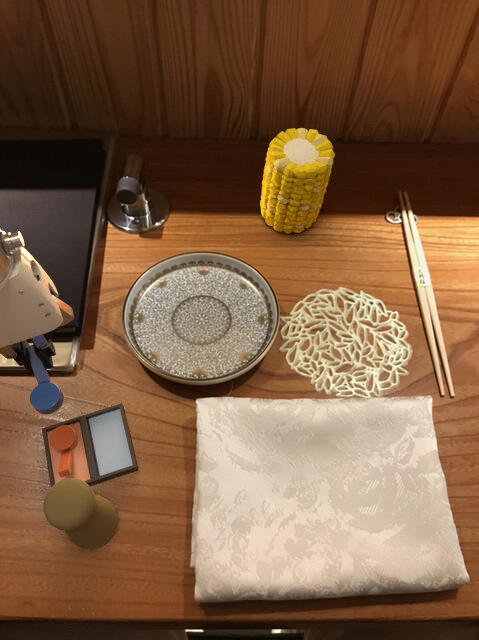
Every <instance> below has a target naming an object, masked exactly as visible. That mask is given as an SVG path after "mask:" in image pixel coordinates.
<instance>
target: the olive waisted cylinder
mask: <svg viewBox="0 0 479 640" xmlns="http://www.w3.org/2000/svg"><path fill="white" fill-rule="evenodd" d="M42 505H43V507H42V509H43V514H44V517H45V519H46V522H48V523H49V524H50V525H51V526H52V527H54V528H55V529H58V530H59V531H64V532H65V533H66V535H67V536H68V537H69V539H70V540H71V542H73V544H75V546H77V547H79V548H81V549H84V550H95V549H100V548H101V547H103V546H105V545H107V544H108V543H109V542H110V541H111V540H112V539H113V538H114V536H115V534H116V532H117V531H118V527H119V521H120V520H119V512H118V509H117V507H116V505H115V503H113V502H112V501H111V500H110V499H109V498H106V497H104V496H102V495H99V494H96V493H95V492H94V491H93V488H92V487H91V486H89V485H88V484H87V483H86V482H84V481H82V480H80V479H75V478H68V479H63V480H61V481H59V482H57V483H55V484H54V485H53V486H52V487H51V486H50V487H49V489H48V491H47V493H46V495H45V496H44V500H43V503H42Z"/></svg>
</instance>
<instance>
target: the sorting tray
mask: <svg viewBox="0 0 479 640" xmlns="http://www.w3.org/2000/svg"><path fill="white" fill-rule="evenodd" d="M63 425H66V426H70V427H71V428H72V429H73V430H74V431H75V432H76V433H77V435H78V443H77V445H76V447H75V448H74V449H73V450H72V451H71V452H72V455H73V456H72V464H71V472H70V475H67V476H64V477H60V475H59V473H58V471H59V465H60V459H61V453H59V452H57V451H56V450H55V449H54V448H53V447H52V446H51V445H50V435H51V433H52V432H53V430H54V429H56V428H57V427H59V426H63ZM41 434H42V440H43V445H44V447H43V448H44V453H45V459H46V465H47V471H48V472H47V473H48V479H49V485H50V488H51V487H52V486H53V485H54V484H55V483H57V482H59V481H61V480H63V479H68V478H75V479H80V480H82V481H84V482H86V483H87V484H88V485H89V486H90V487H91V486H93V485H97V484H100V483H103V482H105V481H109V480H113V479H115V478H118V477H120V476H121V477H122V476H124V475H126V474H130V473H133V472H136V471H138V470H139V465H138V462H137V457H136V453H135V449H134V445H133V440H132V437H131V432H130V427H129V424H128V420H127V416H126V411H125V407H124V405H123V403H122V402H120V403H117V404H115V405H114V404H113V405H111V406H109V407H104V408H102V409H99V410H96V411H92V412H89V413H86V414H82V415H80V416H77V417H73V418H70V419H66V420H64V421H60V422H58V423H53V424H52V425H51V424H50V425H48V426H45V427H42V428H41Z"/></svg>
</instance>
